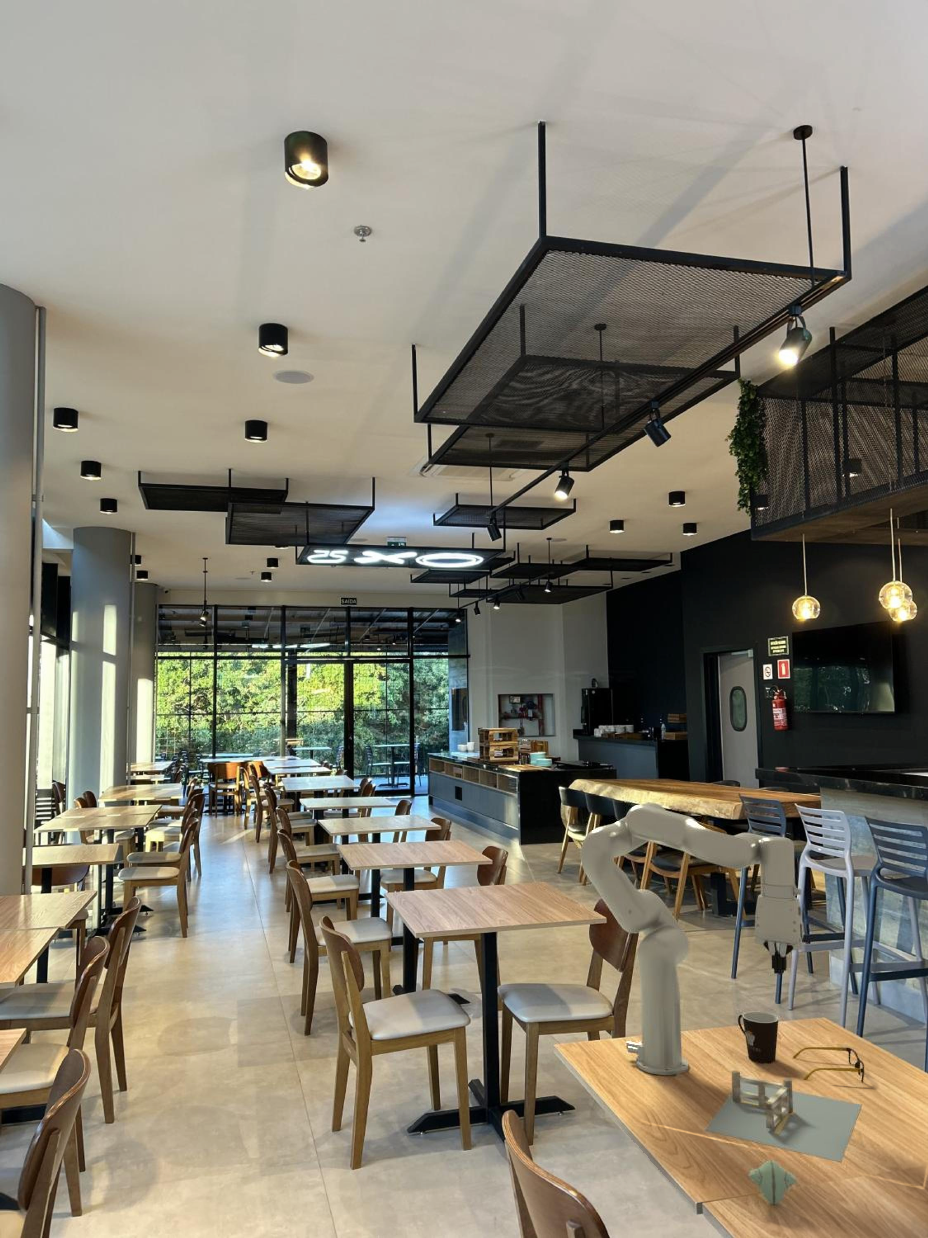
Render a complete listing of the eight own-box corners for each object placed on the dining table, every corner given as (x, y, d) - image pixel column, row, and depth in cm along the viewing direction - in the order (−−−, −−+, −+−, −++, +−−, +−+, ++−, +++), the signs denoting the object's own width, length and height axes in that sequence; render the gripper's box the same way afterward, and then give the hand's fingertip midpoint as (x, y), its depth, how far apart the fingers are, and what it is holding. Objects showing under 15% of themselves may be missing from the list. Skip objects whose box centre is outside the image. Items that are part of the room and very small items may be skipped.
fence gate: (783, 1110, 190) (782, 1086, 191) (789, 1111, 190) (788, 1088, 190) (766, 1128, 182) (765, 1103, 182) (772, 1129, 181) (771, 1104, 182)
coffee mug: (785, 1065, 218) (783, 1023, 219) (749, 1065, 218) (748, 1022, 219) (769, 1048, 230) (768, 1008, 231) (736, 1048, 230) (734, 1008, 231)
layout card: (704, 1132, 182) (704, 1129, 182) (741, 1082, 208) (741, 1080, 208) (840, 1164, 169) (840, 1161, 169) (861, 1107, 194) (861, 1104, 194)
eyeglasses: (868, 1086, 207) (867, 1068, 207) (803, 1081, 209) (802, 1063, 210) (853, 1063, 221) (852, 1046, 221) (792, 1059, 223) (791, 1043, 224)
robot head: (750, 1207, 154) (749, 1165, 155) (748, 1194, 158) (746, 1154, 159) (799, 1212, 152) (797, 1170, 153) (795, 1200, 156) (794, 1159, 157)
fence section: (731, 1101, 196) (730, 1071, 197) (733, 1098, 198) (732, 1068, 198) (792, 1114, 190) (790, 1082, 190) (793, 1111, 191) (792, 1080, 192)
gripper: (814, 893, 207) (816, 974, 205) (749, 885, 215) (750, 964, 213) (807, 898, 200) (809, 982, 198) (740, 890, 209) (742, 971, 207)
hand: (779, 972), depth 206 cm, fingers closed
